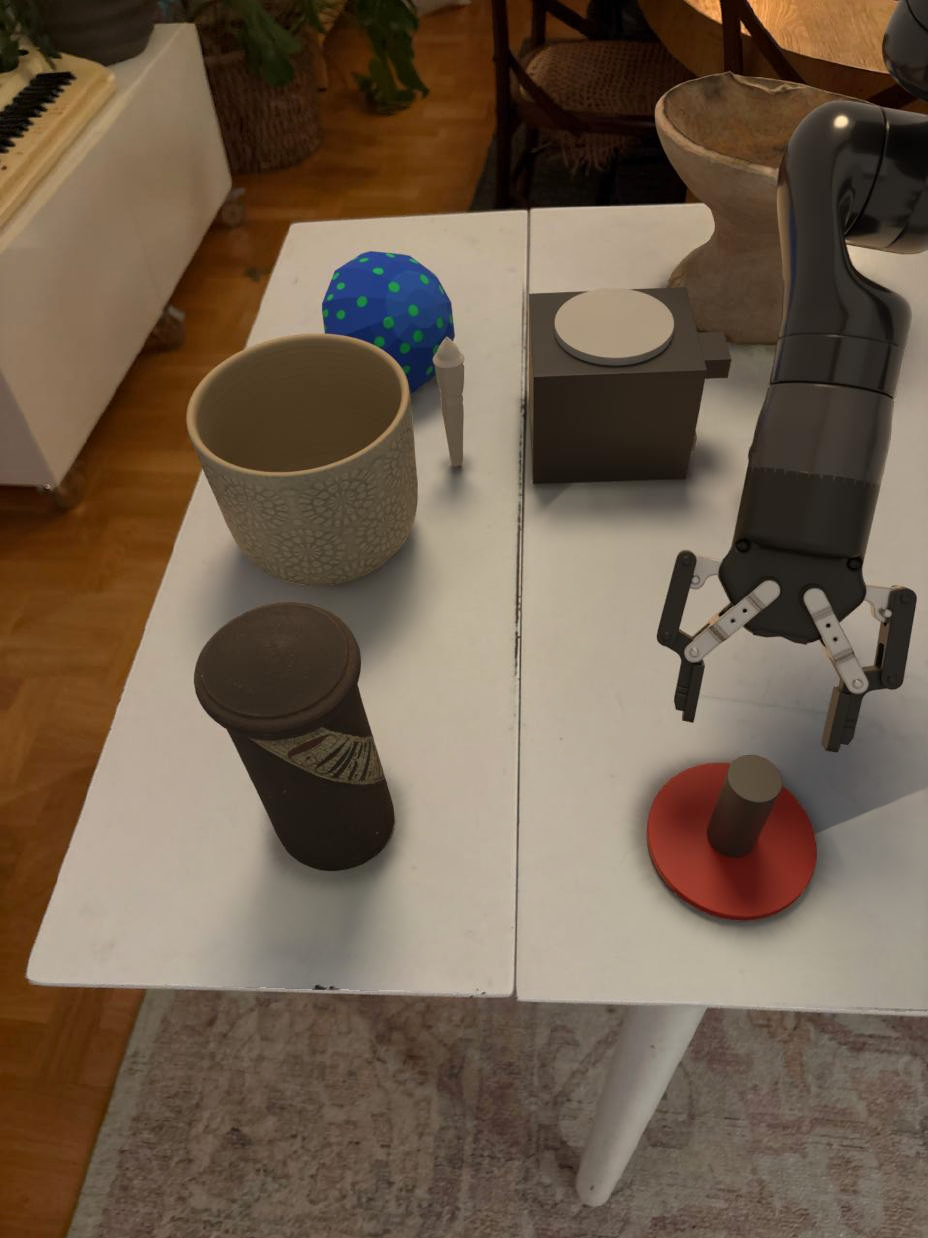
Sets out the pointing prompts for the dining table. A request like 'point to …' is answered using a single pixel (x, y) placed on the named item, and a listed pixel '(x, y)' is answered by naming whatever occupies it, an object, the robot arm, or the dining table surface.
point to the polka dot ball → (391, 310)
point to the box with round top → (617, 384)
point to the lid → (732, 839)
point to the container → (301, 730)
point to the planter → (309, 455)
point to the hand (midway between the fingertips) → (757, 734)
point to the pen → (451, 395)
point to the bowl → (735, 193)
